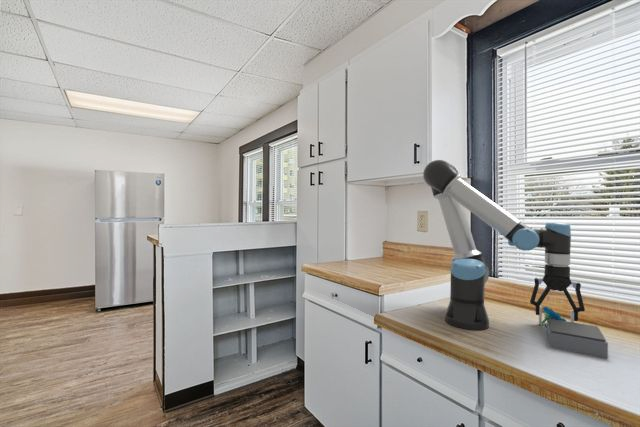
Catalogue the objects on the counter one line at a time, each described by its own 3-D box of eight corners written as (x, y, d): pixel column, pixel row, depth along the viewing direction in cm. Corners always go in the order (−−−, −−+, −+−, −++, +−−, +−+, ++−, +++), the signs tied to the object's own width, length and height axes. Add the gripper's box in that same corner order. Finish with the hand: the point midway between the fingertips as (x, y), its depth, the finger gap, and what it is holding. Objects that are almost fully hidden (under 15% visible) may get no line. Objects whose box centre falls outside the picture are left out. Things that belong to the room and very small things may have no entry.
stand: (548, 346, 102) (548, 330, 102) (546, 332, 114) (546, 317, 114) (607, 358, 94) (607, 341, 94) (598, 341, 107) (599, 326, 107)
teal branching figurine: (578, 329, 112) (554, 307, 114) (565, 341, 112) (542, 318, 115) (560, 323, 123) (538, 303, 125) (548, 333, 123) (527, 313, 125)
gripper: (593, 266, 116) (592, 329, 116) (522, 260, 128) (521, 318, 128) (597, 269, 110) (595, 336, 110) (522, 263, 121) (521, 323, 122)
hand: (555, 326), depth 119 cm, fingers closed on teal branching figurine, 9 cm apart
